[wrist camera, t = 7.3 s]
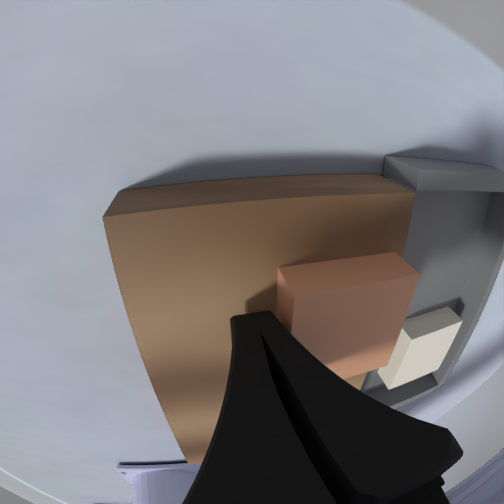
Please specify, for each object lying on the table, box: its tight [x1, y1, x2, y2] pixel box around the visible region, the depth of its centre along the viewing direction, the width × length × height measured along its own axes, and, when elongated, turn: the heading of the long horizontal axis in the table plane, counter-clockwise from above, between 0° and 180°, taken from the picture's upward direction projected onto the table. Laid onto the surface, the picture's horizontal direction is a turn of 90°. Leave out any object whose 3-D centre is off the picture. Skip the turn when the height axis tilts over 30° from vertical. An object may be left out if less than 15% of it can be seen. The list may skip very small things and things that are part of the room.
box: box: [360, 156, 504, 409], centre depth 15 cm, size 17×9×2 cm, turn 1°
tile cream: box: [378, 306, 463, 390], centre depth 17 cm, size 4×4×2 cm
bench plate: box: [103, 174, 415, 465], centre depth 13 cm, size 16×10×2 cm, turn 1°
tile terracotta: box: [276, 252, 420, 379], centre depth 10 cm, size 4×4×2 cm
